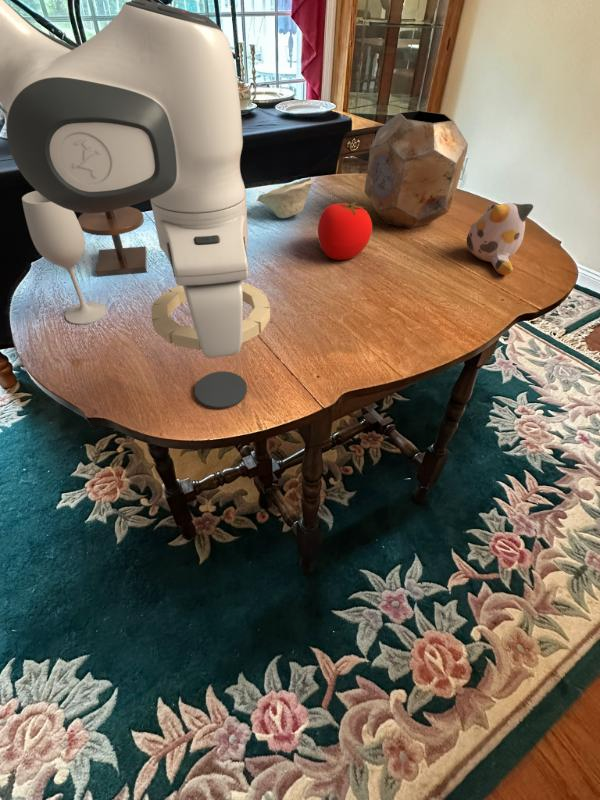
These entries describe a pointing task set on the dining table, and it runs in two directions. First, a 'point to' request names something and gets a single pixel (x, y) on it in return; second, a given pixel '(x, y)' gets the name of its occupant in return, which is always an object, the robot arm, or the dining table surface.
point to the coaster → (220, 390)
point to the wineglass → (60, 247)
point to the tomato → (344, 230)
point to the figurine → (499, 234)
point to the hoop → (188, 335)
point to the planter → (415, 168)
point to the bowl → (287, 198)
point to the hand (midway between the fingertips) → (216, 339)
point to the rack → (116, 241)
